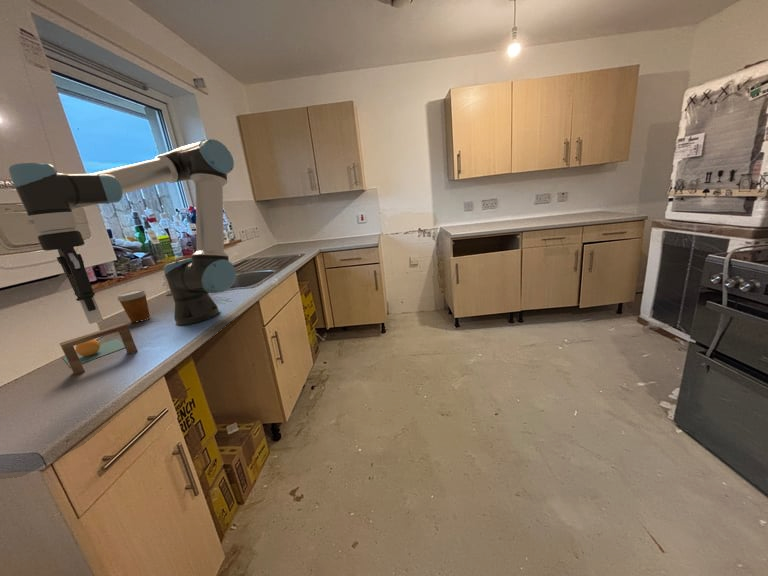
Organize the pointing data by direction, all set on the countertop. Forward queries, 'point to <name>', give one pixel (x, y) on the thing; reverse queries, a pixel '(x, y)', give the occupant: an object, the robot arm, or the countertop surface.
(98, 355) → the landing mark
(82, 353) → the ball
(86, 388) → the countertop surface
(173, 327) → the countertop surface
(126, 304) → the disposable coffee cup
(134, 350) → the bridge
